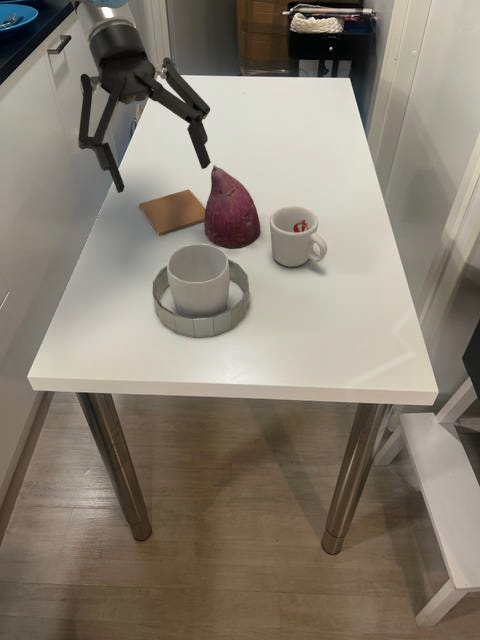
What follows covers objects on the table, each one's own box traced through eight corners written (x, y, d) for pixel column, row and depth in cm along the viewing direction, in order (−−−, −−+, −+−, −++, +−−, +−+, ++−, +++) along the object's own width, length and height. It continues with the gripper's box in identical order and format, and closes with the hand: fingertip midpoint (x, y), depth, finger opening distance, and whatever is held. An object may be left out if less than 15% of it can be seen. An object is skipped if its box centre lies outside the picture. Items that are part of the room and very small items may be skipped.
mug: (231, 330, 75) (229, 281, 68) (172, 333, 75) (164, 284, 68) (229, 275, 84) (227, 227, 77) (176, 277, 84) (169, 229, 77)
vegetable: (204, 258, 92) (174, 195, 81) (215, 220, 98) (188, 156, 87) (258, 253, 89) (234, 187, 78) (266, 214, 95) (244, 147, 84)
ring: (178, 350, 73) (175, 332, 70) (142, 290, 82) (138, 272, 79) (265, 315, 77) (266, 297, 75) (222, 262, 86) (221, 244, 84)
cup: (336, 263, 86) (342, 225, 80) (307, 286, 82) (312, 248, 76) (287, 237, 91) (290, 200, 85) (259, 258, 87) (259, 220, 81)
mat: (159, 235, 92) (158, 233, 92) (138, 206, 99) (138, 203, 98) (212, 218, 95) (212, 216, 95) (189, 191, 102) (188, 189, 102)
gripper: (185, 37, 79) (231, 164, 81) (27, 67, 72) (82, 207, 73) (197, 7, 72) (247, 147, 74) (22, 37, 64) (83, 193, 66)
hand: (165, 177), depth 74 cm, fingers open, 13 cm apart
